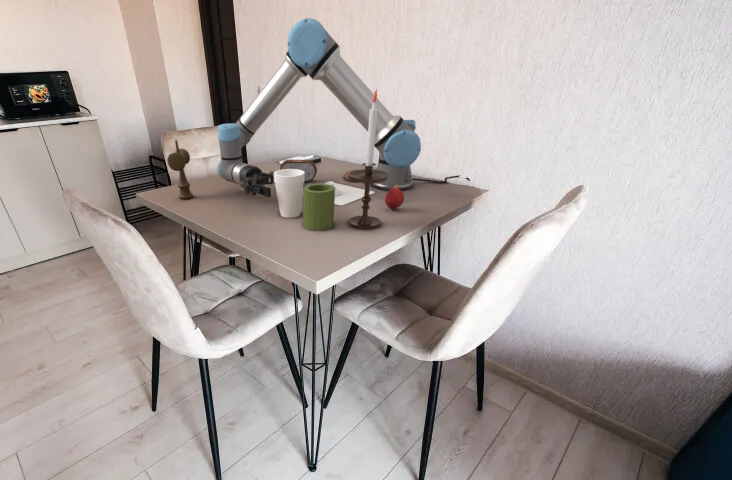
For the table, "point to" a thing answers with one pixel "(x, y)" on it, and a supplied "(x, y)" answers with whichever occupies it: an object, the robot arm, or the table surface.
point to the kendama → (180, 170)
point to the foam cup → (289, 191)
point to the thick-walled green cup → (318, 206)
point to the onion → (394, 198)
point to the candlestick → (368, 176)
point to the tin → (301, 167)
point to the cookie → (347, 175)
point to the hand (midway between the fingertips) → (287, 188)
